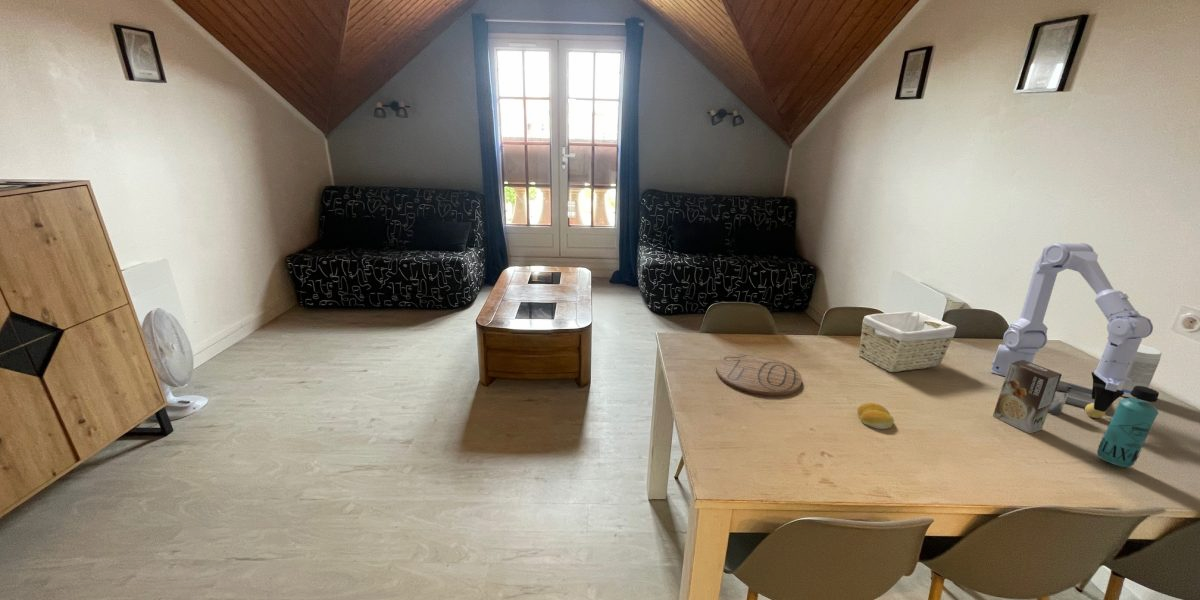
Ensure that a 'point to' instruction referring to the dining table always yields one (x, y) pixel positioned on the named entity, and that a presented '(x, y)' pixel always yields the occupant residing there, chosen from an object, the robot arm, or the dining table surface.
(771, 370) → the trivet
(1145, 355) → the supplement tub
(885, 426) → the bread roll
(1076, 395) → the dish
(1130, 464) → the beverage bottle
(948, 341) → the storage basket
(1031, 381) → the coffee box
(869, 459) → the dining table surface
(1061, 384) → the shaker cup
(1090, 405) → the ball
